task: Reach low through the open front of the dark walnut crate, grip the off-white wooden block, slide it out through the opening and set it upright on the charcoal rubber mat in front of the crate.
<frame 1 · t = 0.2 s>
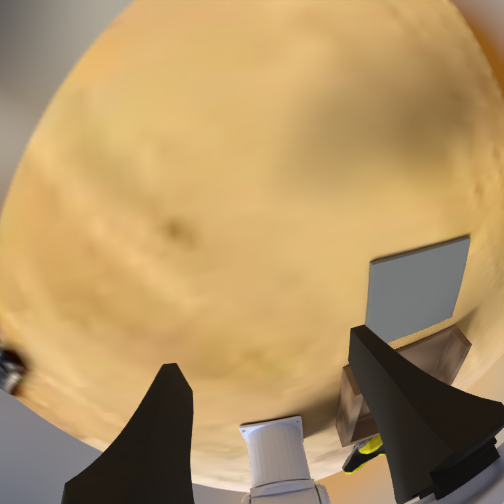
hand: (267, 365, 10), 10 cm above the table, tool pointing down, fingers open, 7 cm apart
mat: (418, 293, 23), on the table
gaming controller: (368, 433, 37), on the table
crate: (395, 380, 29), on the table
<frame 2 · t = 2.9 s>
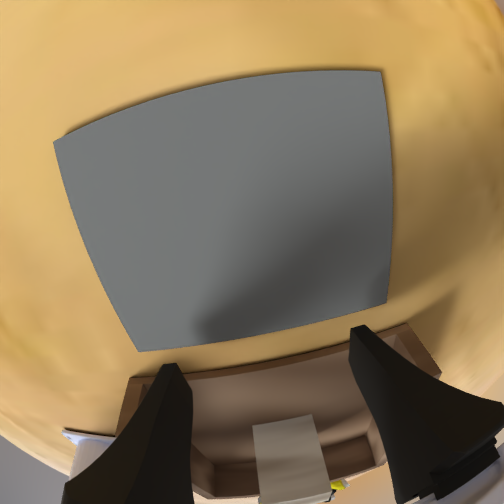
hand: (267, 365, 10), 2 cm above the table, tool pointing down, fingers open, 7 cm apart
mat: (238, 224, 10), on the table
gaming controller: (296, 475, 25), on the table
crate: (282, 420, 16), on the table
block: (284, 431, 16), resting on crate
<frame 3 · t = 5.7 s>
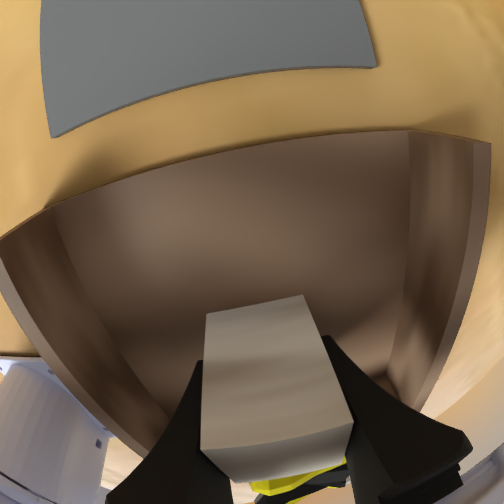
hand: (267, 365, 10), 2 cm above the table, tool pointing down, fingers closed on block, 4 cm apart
gaming controller: (301, 449, 20), on the table
crate: (257, 315, 12), on the table
block: (262, 338, 12), resting on crate, touching gripper
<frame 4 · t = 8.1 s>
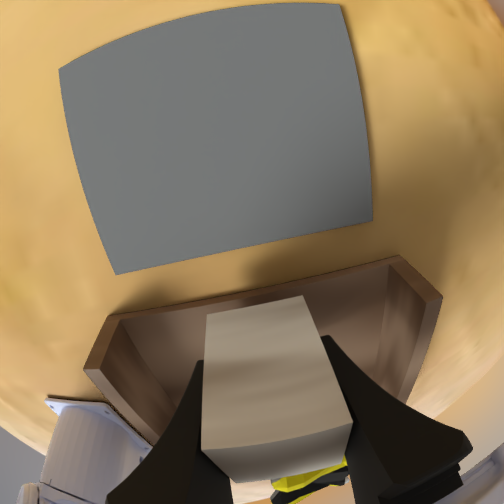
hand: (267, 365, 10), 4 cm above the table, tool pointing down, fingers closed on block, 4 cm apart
mat: (215, 128, 10), on the table
gaming controller: (308, 455, 25), on the table
crate: (272, 377, 16), on the table
block: (262, 339, 12), point 2 cm above the table, touching gripper
when the fingers open (3 cm above the table, at t = 10.5 s): block stays where it is, resting on mat.
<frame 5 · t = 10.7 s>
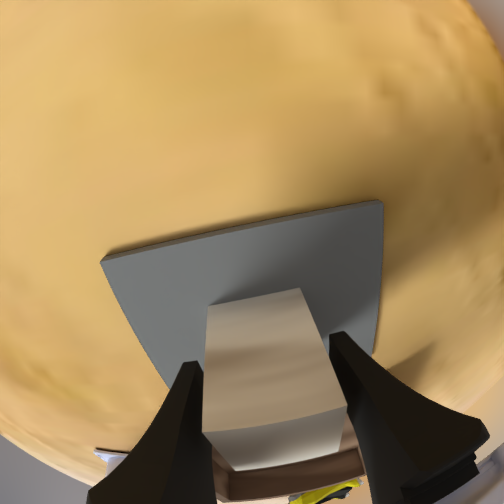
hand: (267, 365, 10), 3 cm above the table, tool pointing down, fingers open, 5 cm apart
mat: (259, 323, 13), on the table
gaming controller: (316, 476, 28), on the table
crate: (287, 439, 19), on the table
block: (261, 330, 12), resting on mat
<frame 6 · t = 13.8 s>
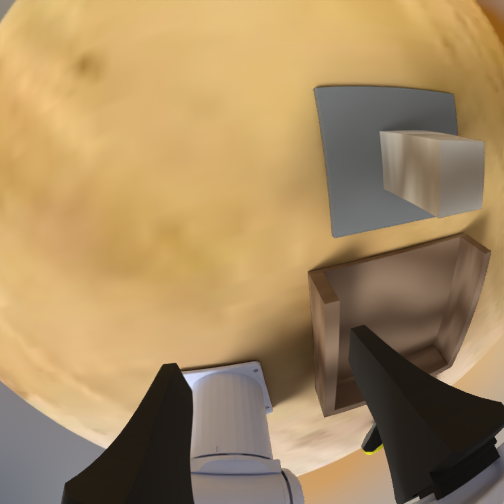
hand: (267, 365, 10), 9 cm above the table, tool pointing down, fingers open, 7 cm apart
mat: (400, 156, 16), on the table
gaming controller: (392, 400, 32), on the table
crate: (392, 315, 23), on the table
block: (405, 158, 16), resting on mat
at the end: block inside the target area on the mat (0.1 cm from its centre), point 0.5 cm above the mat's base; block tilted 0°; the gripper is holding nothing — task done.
